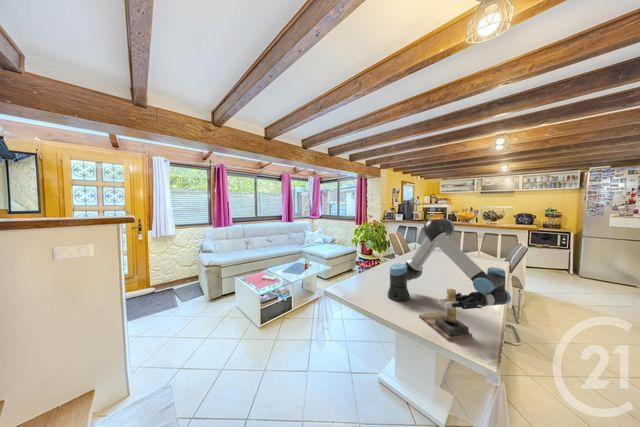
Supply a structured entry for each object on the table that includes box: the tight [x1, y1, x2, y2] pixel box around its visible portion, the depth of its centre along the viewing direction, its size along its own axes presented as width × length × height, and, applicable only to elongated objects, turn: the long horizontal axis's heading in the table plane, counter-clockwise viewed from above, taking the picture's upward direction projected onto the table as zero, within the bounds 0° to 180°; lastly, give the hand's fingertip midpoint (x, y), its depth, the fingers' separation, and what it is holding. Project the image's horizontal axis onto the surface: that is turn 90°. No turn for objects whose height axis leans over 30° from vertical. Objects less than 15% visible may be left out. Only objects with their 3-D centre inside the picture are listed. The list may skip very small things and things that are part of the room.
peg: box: [446, 288, 457, 322], centre depth 108 cm, size 4×4×16 cm
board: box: [418, 311, 473, 341], centre depth 114 cm, size 22×14×5 cm, turn 10°
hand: (442, 303), depth 108 cm, fingers closed on peg, 4 cm apart
